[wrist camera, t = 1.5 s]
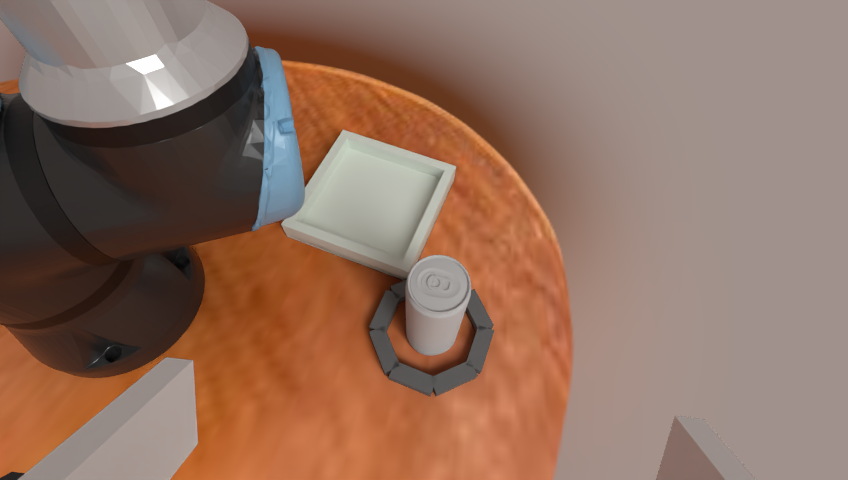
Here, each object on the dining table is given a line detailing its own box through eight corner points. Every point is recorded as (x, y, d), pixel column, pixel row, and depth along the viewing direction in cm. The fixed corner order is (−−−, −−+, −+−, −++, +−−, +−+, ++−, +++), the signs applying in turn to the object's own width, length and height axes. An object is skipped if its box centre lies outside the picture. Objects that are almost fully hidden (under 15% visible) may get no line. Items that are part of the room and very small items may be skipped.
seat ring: (354, 364, 39) (352, 361, 38) (400, 264, 44) (400, 259, 43) (467, 411, 37) (469, 410, 36) (502, 302, 42) (504, 297, 41)
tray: (287, 236, 45) (280, 224, 43) (345, 144, 52) (343, 129, 50) (408, 282, 43) (408, 271, 41) (453, 179, 50) (456, 166, 47)
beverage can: (413, 303, 42) (414, 246, 32) (460, 315, 42) (478, 261, 31) (400, 350, 40) (397, 305, 29) (450, 363, 39) (465, 322, 29)
